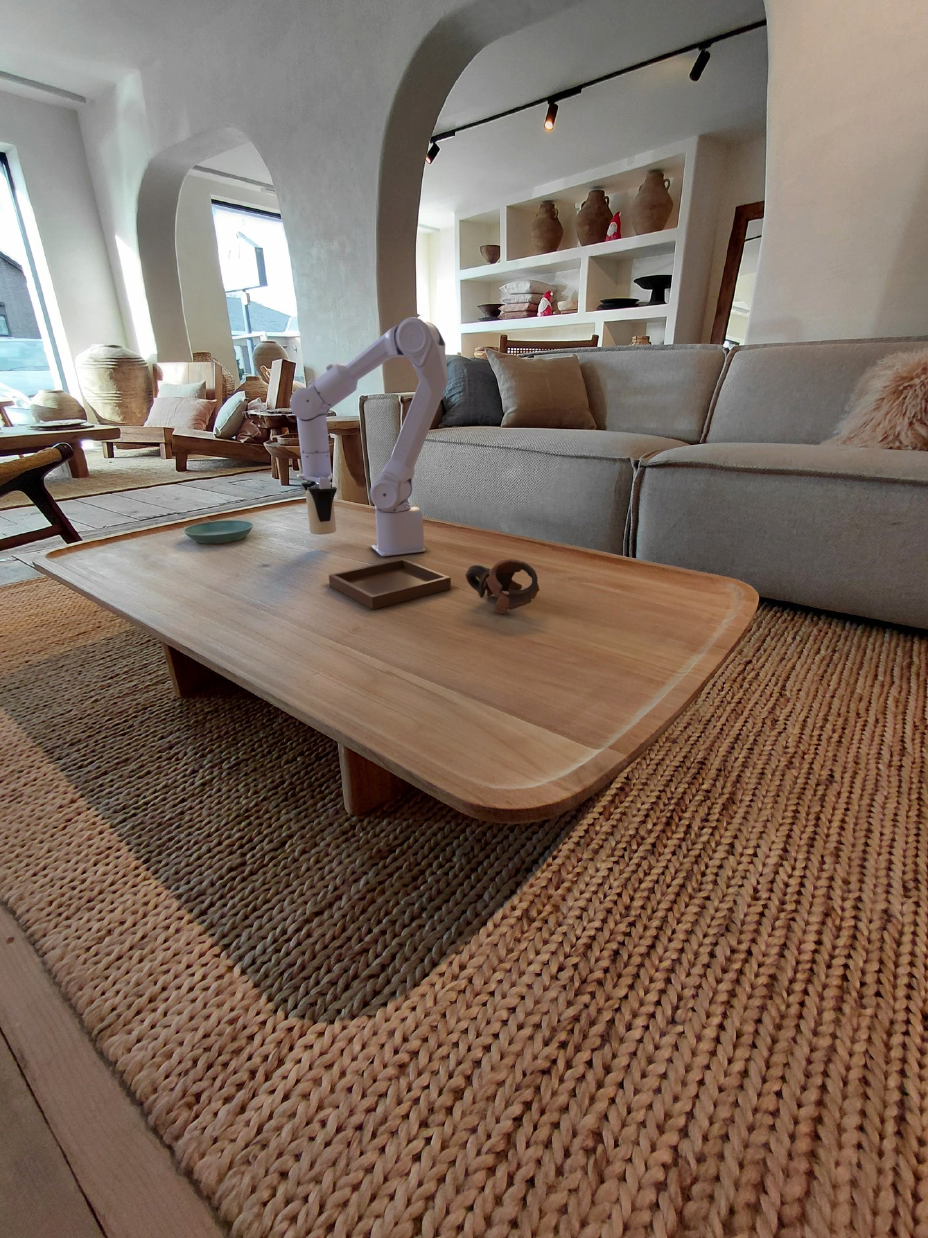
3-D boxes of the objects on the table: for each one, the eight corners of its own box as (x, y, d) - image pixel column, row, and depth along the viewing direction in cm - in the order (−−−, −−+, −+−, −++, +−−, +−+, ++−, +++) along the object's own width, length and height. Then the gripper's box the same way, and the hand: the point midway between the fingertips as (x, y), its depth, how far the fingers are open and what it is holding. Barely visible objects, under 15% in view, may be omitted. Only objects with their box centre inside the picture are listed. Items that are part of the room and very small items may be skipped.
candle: (312, 528, 125) (307, 482, 121) (337, 528, 126) (333, 481, 122) (308, 535, 120) (302, 486, 116) (334, 534, 121) (330, 486, 117)
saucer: (268, 533, 135) (266, 521, 134) (226, 549, 122) (224, 537, 121) (216, 528, 140) (214, 517, 139) (170, 543, 127) (167, 532, 126)
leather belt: (536, 596, 97) (548, 563, 91) (523, 638, 91) (535, 606, 85) (468, 574, 98) (476, 540, 92) (451, 615, 92) (458, 581, 86)
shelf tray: (403, 568, 110) (403, 558, 109) (451, 588, 99) (450, 577, 99) (329, 586, 101) (328, 574, 100) (372, 609, 90) (371, 597, 90)
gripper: (289, 449, 121) (296, 513, 126) (301, 456, 109) (309, 527, 114) (323, 447, 124) (329, 510, 129) (338, 454, 112) (344, 523, 117)
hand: (321, 518), depth 122 cm, fingers closed on candle, 5 cm apart
